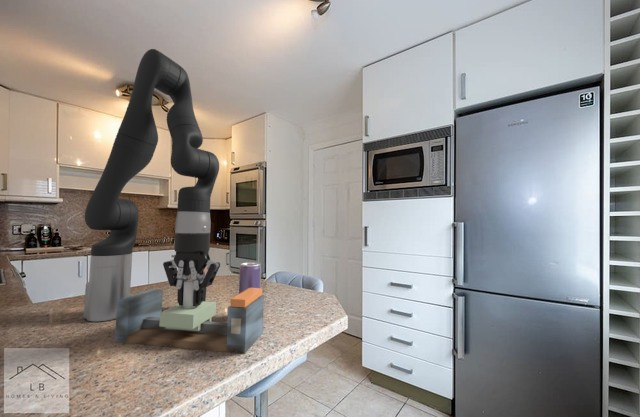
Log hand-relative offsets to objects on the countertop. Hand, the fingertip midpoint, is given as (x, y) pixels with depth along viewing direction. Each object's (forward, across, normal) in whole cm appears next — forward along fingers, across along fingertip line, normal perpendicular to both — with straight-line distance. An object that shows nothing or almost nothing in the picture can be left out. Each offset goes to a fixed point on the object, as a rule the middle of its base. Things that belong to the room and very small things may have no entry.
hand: (190, 304), depth 60 cm
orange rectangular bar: (-2, -14, 0) cm, 14 cm away
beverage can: (+8, -9, -14) cm, 18 cm away
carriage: (+5, 0, 0) cm, 5 cm away
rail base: (+7, -1, 0) cm, 7 cm away
